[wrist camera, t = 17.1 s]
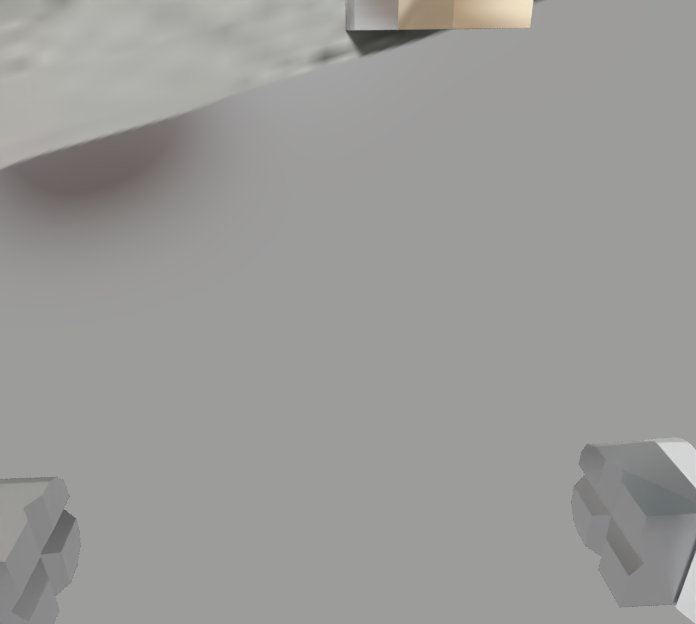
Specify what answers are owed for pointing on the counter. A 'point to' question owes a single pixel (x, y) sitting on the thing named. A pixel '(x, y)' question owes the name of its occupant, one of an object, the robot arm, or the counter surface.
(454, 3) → the block with slab
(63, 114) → the counter surface
